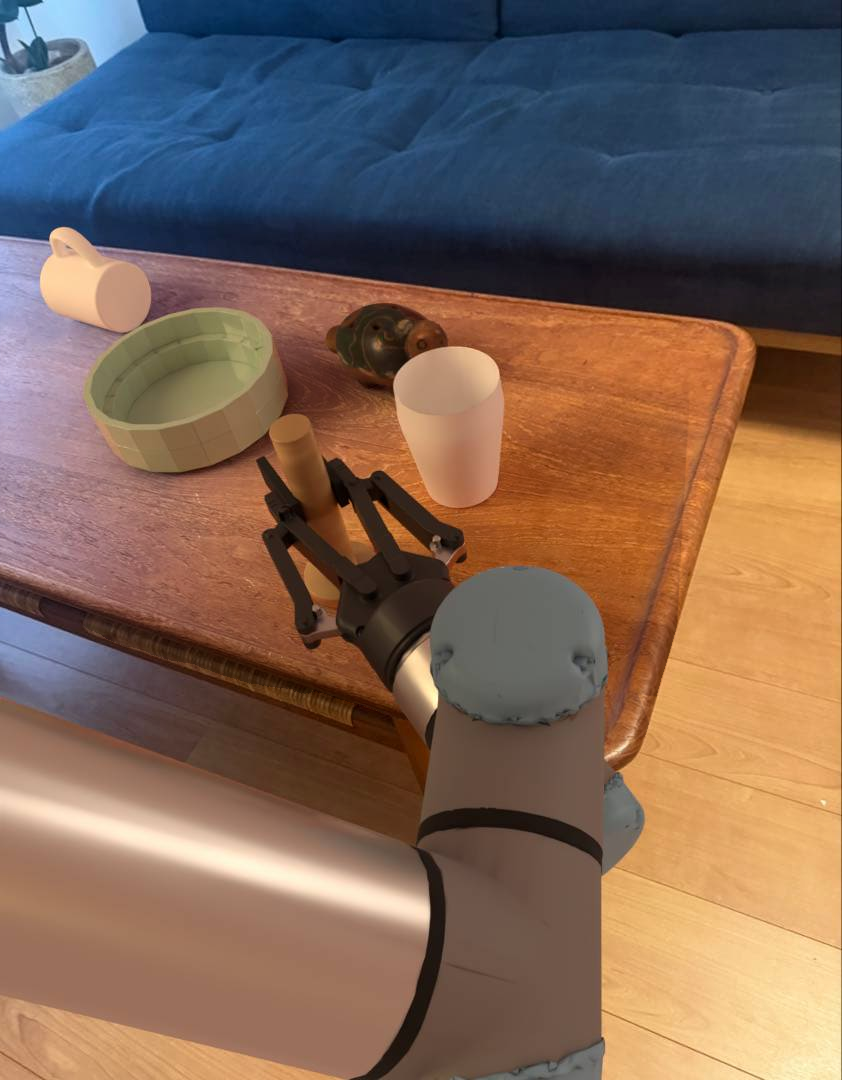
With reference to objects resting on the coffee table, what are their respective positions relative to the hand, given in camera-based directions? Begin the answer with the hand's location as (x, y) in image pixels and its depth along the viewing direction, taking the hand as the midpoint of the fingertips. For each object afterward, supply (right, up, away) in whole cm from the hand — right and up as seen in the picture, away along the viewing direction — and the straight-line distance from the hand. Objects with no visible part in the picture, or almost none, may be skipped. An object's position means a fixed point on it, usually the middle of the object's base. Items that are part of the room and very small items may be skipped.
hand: (285, 459), depth 66 cm
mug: (-28, +21, +37) cm, 51 cm away
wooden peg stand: (+4, -10, +4) cm, 11 cm away
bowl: (-13, +7, +22) cm, 26 cm away
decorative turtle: (+8, +11, +21) cm, 25 cm away
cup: (+15, -1, +10) cm, 18 cm away
